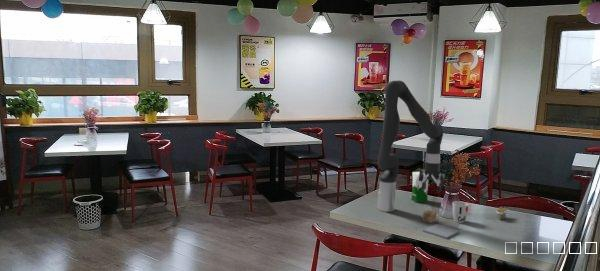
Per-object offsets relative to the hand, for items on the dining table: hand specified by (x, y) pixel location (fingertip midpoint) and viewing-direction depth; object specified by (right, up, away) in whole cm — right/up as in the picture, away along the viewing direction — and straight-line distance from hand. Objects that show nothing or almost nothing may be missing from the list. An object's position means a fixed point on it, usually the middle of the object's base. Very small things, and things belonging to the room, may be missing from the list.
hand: (431, 191), depth 233 cm
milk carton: (+4, -11, +39) cm, 41 cm away
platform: (+41, -17, +8) cm, 45 cm away
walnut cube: (0, -17, +3) cm, 17 cm away
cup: (+16, -17, +3) cm, 24 cm away
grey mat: (+1, -19, -14) cm, 24 cm away
